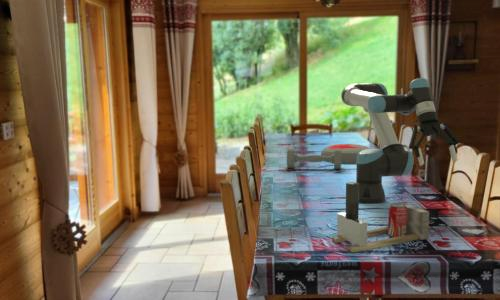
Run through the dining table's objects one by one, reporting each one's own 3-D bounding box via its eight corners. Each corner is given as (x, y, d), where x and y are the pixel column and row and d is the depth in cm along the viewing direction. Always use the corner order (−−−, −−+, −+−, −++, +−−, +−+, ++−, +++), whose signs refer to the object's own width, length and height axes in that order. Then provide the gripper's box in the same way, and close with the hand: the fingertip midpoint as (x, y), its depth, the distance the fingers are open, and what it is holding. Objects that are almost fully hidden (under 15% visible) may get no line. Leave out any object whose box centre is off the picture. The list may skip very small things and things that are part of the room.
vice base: (330, 240, 165) (330, 213, 164) (400, 227, 178) (401, 202, 176) (353, 253, 153) (354, 224, 151) (428, 238, 165) (429, 211, 163)
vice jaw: (335, 234, 165) (336, 180, 162) (345, 233, 167) (346, 179, 164) (357, 247, 153) (358, 188, 150) (368, 244, 155) (369, 187, 152)
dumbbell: (288, 168, 299) (288, 148, 299) (340, 169, 293) (340, 148, 293) (286, 168, 286) (286, 147, 286) (341, 169, 280) (341, 148, 280)
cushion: (371, 165, 298) (372, 149, 296) (315, 162, 311) (315, 147, 310) (377, 155, 332) (377, 141, 330) (326, 153, 345) (326, 140, 344)
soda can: (396, 240, 164) (397, 207, 162) (384, 234, 170) (385, 203, 168) (409, 237, 167) (411, 205, 165) (397, 232, 172) (398, 201, 170)
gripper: (400, 113, 186) (411, 163, 180) (459, 107, 187) (473, 157, 181) (394, 120, 193) (405, 168, 187) (451, 114, 195) (464, 162, 188)
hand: (438, 163), depth 184 cm, fingers open, 13 cm apart
